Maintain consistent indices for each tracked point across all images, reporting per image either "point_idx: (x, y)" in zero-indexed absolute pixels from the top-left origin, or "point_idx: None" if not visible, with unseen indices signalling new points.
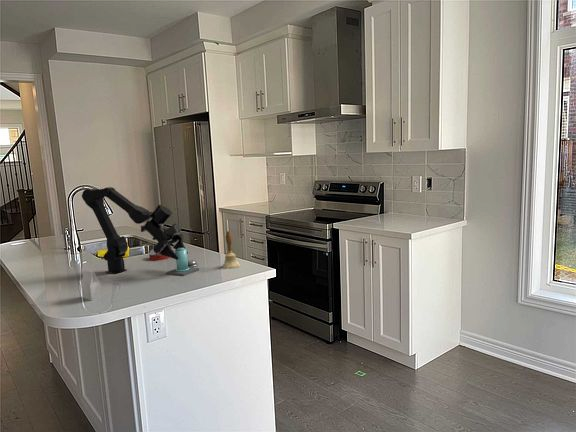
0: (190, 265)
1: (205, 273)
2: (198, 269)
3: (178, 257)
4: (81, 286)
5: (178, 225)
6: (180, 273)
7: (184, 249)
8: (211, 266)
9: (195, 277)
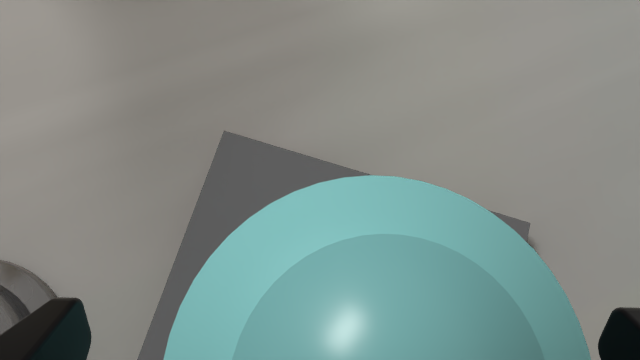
0: None
1: (391, 8)
2: (239, 140)
3: (630, 311)
4: None
5: None
6: None
7: (347, 243)
8: (52, 47)
9: (565, 58)
